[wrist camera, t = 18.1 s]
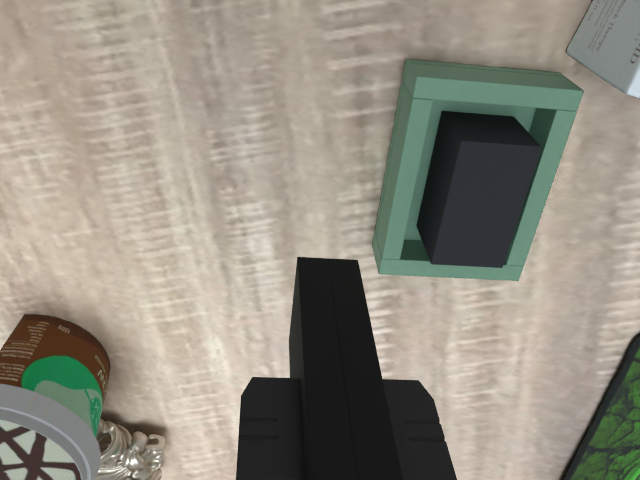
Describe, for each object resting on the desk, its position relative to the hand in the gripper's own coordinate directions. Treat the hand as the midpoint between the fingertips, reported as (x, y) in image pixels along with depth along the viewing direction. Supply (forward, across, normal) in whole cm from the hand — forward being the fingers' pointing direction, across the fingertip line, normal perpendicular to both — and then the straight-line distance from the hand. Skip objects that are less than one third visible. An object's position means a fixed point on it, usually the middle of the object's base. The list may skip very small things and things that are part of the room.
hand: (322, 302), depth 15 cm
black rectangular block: (+22, +11, -6) cm, 25 cm away
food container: (+23, -14, -24) cm, 36 cm away
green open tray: (+22, +11, -6) cm, 26 cm away
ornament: (+23, -11, -33) cm, 41 cm away
